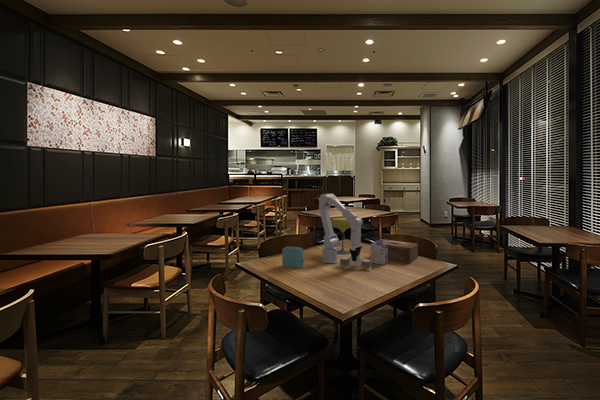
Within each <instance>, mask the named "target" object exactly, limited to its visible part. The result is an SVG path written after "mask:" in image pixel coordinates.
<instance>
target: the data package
mask: <svg viewBox="0 0 600 400" xmlns="http://www.w3.org/2000/svg"><path fill="white" fill-rule="evenodd" d="M281 252H282V255H281V256H282V267H284V268H291V269H299V270H300V269H301V268H302V267H303V266H304V249H303V247H300V246H299V247H298V246H290V245H289V246H288V245H287V246H285V247H283V248H282V251H281Z"/></svg>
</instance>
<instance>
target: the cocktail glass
mask: <svg viewBox="0 0 600 400" xmlns="http://www.w3.org/2000/svg"><path fill="white" fill-rule="evenodd" d="M330 220H331V224H332V227H334V228H336V229H338V230H339V231H340V232H341V236H342V237H341V242H342V243H341V250H340V249H339V250H337V255H349V254H350V255H351V253H350V251H349V250H346V249H344V233H345V232H346V230H348V229H351V226H350V224H349V222H348V221H347V220H346V219H345V218H344V217H343V216H332V217H330Z"/></svg>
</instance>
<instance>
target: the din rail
mask: <svg viewBox="0 0 600 400" xmlns="http://www.w3.org/2000/svg"><path fill="white" fill-rule="evenodd" d="M339 265H343V264H340V263H339ZM339 265H338V266H339ZM372 265H373V264H371V266H370V267H362V266H361V265H360V266H355V265H350V263H349V265H344V266H353V267H362V268H371V267H372ZM372 268H373V267H372Z"/></svg>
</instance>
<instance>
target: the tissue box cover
mask: <svg viewBox="0 0 600 400" xmlns="http://www.w3.org/2000/svg"><path fill="white" fill-rule="evenodd" d="M379 240H383V243H382V244H388V261H389V260H390V261H396V262H401V263H406V264H407V263H408V264H411V263H412V262H414V261H416V260H417V259H418V256H419V255H418V253H419V252H418V250H419V244H418V243H415V242H414V243H413V242H406V241H399V240H390V239H383V238H381V239H379ZM378 242H381V241H378ZM372 243H377V240H375V241H372Z"/></svg>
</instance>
